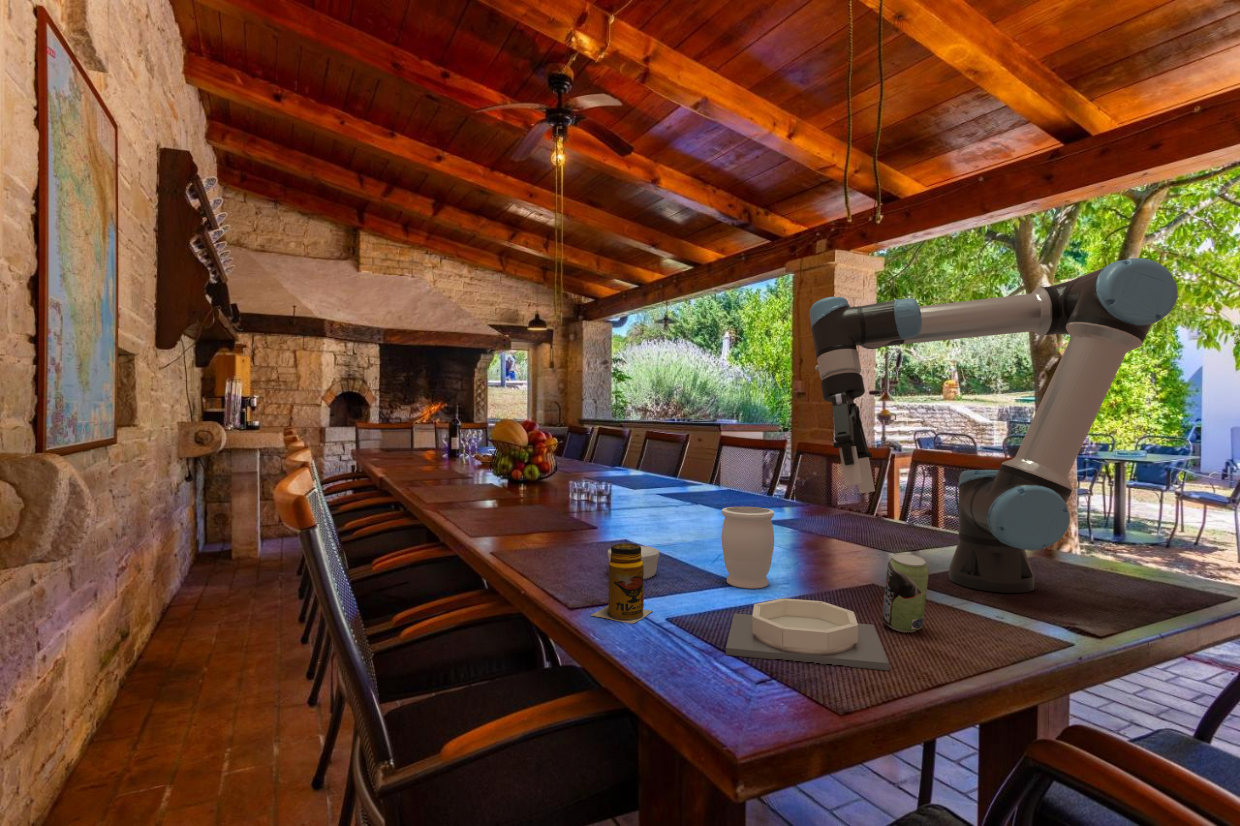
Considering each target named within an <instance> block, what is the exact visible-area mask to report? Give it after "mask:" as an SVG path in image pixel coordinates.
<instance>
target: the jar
mask: <svg viewBox="0 0 1240 826" xmlns="http://www.w3.org/2000/svg"><path fill="white" fill-rule="evenodd" d="M774 512H775V511H774V510H772V509H770V508H765V507H759V506H729V507H724V508H722V509H721V513H722V515H723V517H724V520H723V523H722V529H721V547H722V554H723V561H724V565H725V569H726V570H727V573H728V576H727V578H726V582H727V583H726V584H728V585H730V586H732V587H734V588H735V587H736V588H741V589H742V588H743V589H751V590H752V589H753V590H754V589H763V588H765V587H767V586H769V583H770V582H769V579H768V578H767V575H769V572H770V570H771V566H772V560H773V553H774V548H775V531H774V525H773V522H772V518H774V516H775V513H774Z"/></svg>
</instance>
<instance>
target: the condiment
mask: <svg viewBox="0 0 1240 826" xmlns="http://www.w3.org/2000/svg"><path fill="white" fill-rule="evenodd" d="M640 546H641V545H639V544H636V543H630V542H629V543H628V542H623V543H622V542H620V543H616V544H613V545H612V546H611V547H610V549H611V560H610V561H609V560H608V576H607V577H608V594H607V595H608V602H607V603H608V605H606V606H605V607H604V608H601V609H599V610H598V611H595V612H594V613H592V614H590V616H591V617H597V618H604V619H607V620H611V621H617V622H621V623H627V624H636V623H637V622H639V621H640V620H642V619H644V618H645V617H647V616H648V615H649V614H650V613H652V612H653V610H649V609H644V607H645V605H644V604H645V603H644V600H645V598H644V594H645V591H644V589H645V587H644V584H645V583H644V582H645V581H644V579H643V576H644V565H643V562H642V560H641V557H642V555H641V547H640Z"/></svg>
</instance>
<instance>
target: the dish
mask: <svg viewBox="0 0 1240 826" xmlns="http://www.w3.org/2000/svg"><path fill="white" fill-rule="evenodd" d="M751 615H752V633H753V634H754V636H755V637H756V638H757V639H758V640H759V641H761V642H762V643H764V644H766V645H768V646H771V647H773V648H777V649H780V650H784V651H788V652H794V653H800V654H811V655H827V654H836V653H841V652H845V651H848V650H850V649H851V648H853V647H854V646H855V644H856V643H857V642H858V624H859V623H858V621H857V618H856V613H855V612H854V611H852V610H849V609H847V608H843V607H840V606H838V605H835V604H831V603H828V602H825V601H821V600H809V599H797V598H796V599H795V598H778V599H773V600H768V601H762V602H758V603H754V604H753V610H752V614H751Z"/></svg>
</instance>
